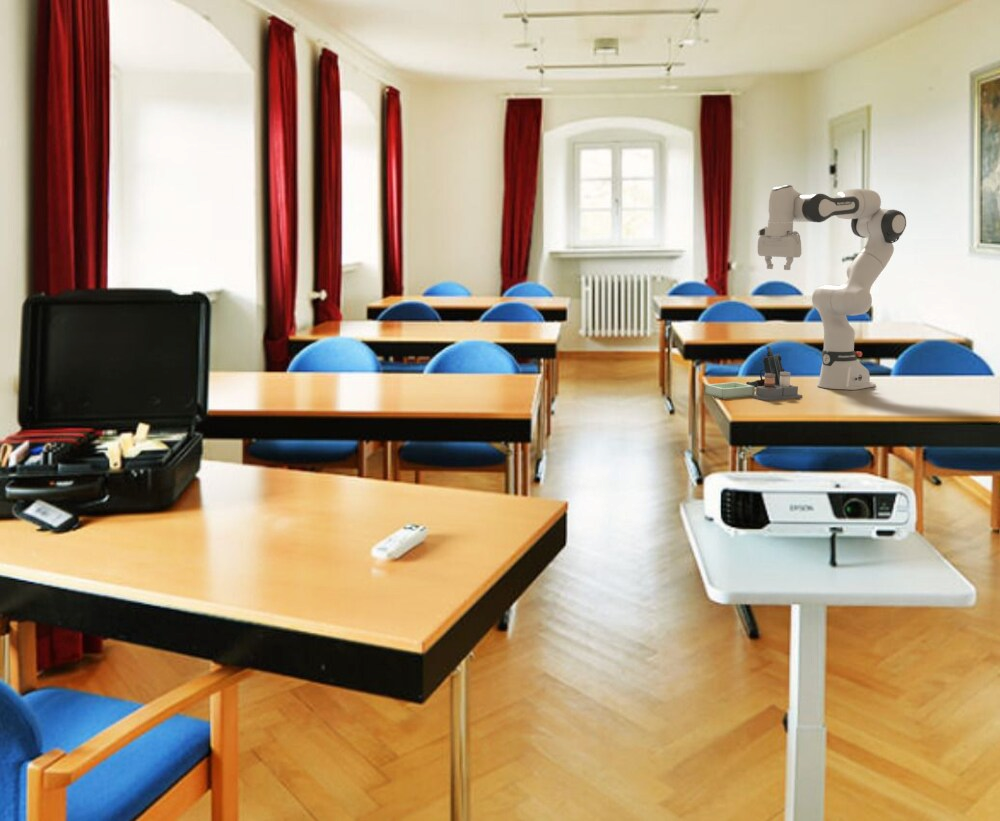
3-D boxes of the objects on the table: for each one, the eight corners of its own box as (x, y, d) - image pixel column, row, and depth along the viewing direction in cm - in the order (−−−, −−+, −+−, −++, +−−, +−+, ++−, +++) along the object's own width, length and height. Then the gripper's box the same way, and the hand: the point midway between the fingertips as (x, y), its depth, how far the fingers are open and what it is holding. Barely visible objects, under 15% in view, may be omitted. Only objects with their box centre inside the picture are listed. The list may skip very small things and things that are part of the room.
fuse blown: (769, 394, 373) (770, 372, 371) (776, 395, 369) (777, 374, 368) (761, 395, 371) (762, 373, 370) (768, 396, 368) (769, 374, 366)
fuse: (784, 392, 376) (785, 371, 374) (791, 394, 372) (792, 372, 371) (776, 393, 374) (777, 372, 373) (783, 395, 371) (784, 373, 369)
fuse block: (785, 393, 379) (786, 383, 378) (802, 397, 371) (802, 386, 370) (751, 397, 373) (751, 386, 372) (767, 401, 365) (767, 390, 364)
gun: (741, 352, 391) (779, 344, 383) (750, 394, 392) (788, 387, 384) (739, 353, 389) (777, 345, 381) (748, 395, 390) (786, 388, 382)
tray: (735, 391, 385) (735, 382, 385) (754, 395, 376) (754, 386, 375) (705, 394, 380) (705, 384, 379) (723, 398, 370) (723, 389, 369)
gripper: (806, 231, 361) (804, 270, 364) (768, 230, 380) (767, 268, 382) (792, 231, 359) (790, 270, 361) (755, 230, 377) (753, 268, 379)
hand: (778, 269), depth 372 cm, fingers open, 8 cm apart
